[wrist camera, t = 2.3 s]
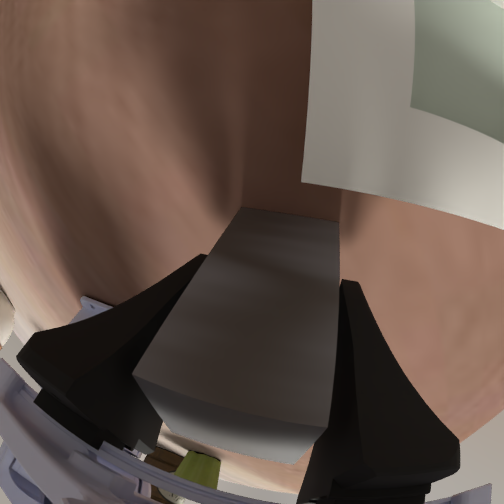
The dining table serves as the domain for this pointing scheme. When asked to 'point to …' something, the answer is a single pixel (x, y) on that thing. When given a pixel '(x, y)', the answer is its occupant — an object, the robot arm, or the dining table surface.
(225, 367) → the peg
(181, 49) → the dining table surface
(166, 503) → the wooden container
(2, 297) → the lidded jar
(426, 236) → the dining table surface
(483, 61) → the socket block
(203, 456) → the plant pot
